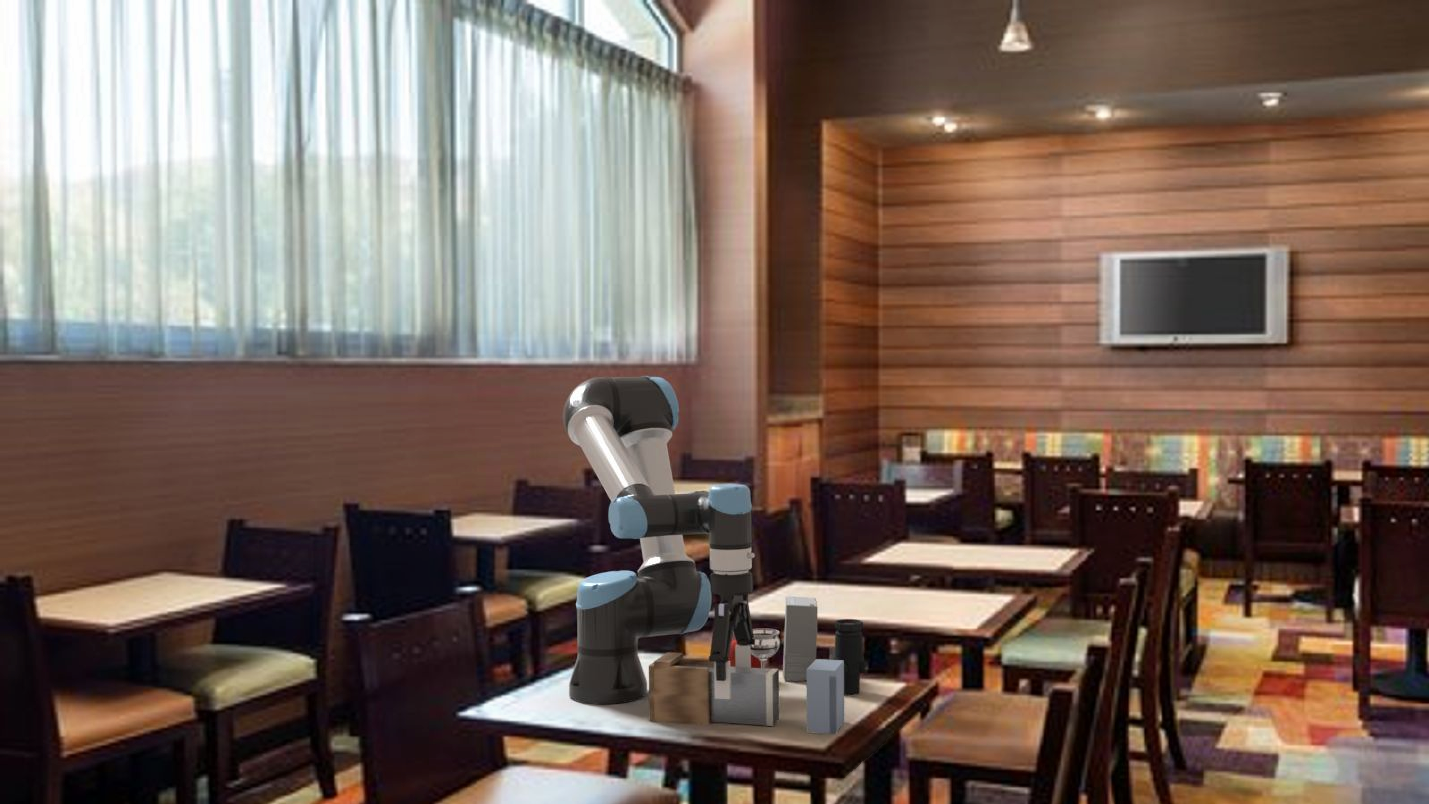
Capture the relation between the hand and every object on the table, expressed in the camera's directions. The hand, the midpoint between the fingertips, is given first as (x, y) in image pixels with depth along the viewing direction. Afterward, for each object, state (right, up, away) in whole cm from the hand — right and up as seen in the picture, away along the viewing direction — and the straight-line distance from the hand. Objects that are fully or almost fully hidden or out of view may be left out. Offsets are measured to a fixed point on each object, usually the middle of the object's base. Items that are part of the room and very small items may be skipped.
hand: (733, 689), depth 236 cm
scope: (+22, -5, +20) cm, 30 cm away
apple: (+3, -5, +30) cm, 30 cm away
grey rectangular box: (-2, -6, +1) cm, 6 cm away
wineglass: (+6, -5, +20) cm, 21 cm away
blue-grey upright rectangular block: (+16, -6, -4) cm, 18 cm away
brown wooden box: (-8, -6, +3) cm, 10 cm away
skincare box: (+14, -5, +33) cm, 36 cm away
